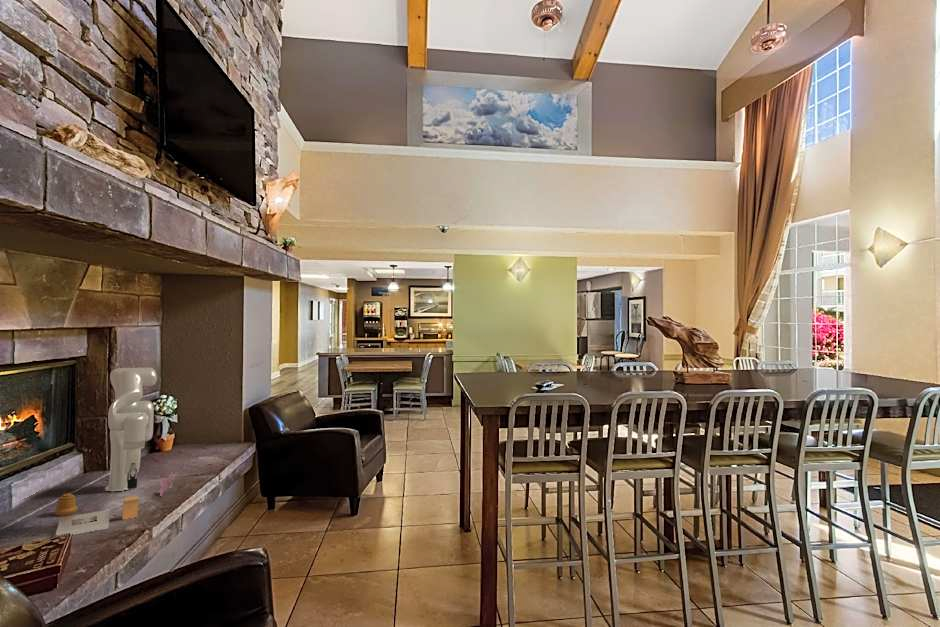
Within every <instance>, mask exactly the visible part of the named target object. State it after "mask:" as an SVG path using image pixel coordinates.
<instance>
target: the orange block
mask: <svg viewBox="0 0 940 627" xmlns="http://www.w3.org/2000/svg"><path fill="white" fill-rule="evenodd" d="M122 500H123V505H122V520H123V519H126V520H129V519H128V518H131V519H135V518H134V517H137V518H138V510H139V509H138V508H139V495H135V496H130V497H129V496H128V497H124V498H123V499H122Z"/></svg>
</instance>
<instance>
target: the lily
mask: <svg viewBox="0 0 940 627" xmlns="http://www.w3.org/2000/svg"><path fill="white" fill-rule="evenodd" d="M177 475H178V472H175V473H173V471H172V472H171V473H170V474H169V476H168V477H165V478H161V479H160V483H159V484H160V486H161V487H160V488H159V490H158V491H157V494H159V497H160V496H161V497H162V496H163V494H164V492H165V491H166V490H167V489H171V488H173V489H174V490H175V491H176V490H177V489H176V487H174V486H175V485H173V480H174V478H175V477H176V476H177Z"/></svg>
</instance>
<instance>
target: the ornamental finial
mask: <svg viewBox="0 0 940 627" xmlns="http://www.w3.org/2000/svg"><path fill="white" fill-rule="evenodd" d="M77 511H78V506H77V505H76V496H75V495H74V494H72V493H70V492H69V493H65V494H63V495H61V496H60V497H59V498H58V499H57V505H56V508H55V509H54V511H53V513H54V515H56V516H57V517H66V516H71V515H72V514H75V513H76V512H77Z"/></svg>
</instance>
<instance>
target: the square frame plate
mask: <svg viewBox="0 0 940 627" xmlns="http://www.w3.org/2000/svg"><path fill="white" fill-rule="evenodd" d="M110 511H111V510H110V509H105V510H104V509H103V510H99V511H94V512H87V513H81V514H75V515H68V516H62V517H60V519H59V521H58V526H57V528H56V532H55V536H56V535H61V534H65V533H72V534H73V535H72V536H74V535H79V534H85V532H86V533H90V531H92V532H96V531H95V530H97V531H102V530H107V529H109V528H110V527H109V526H110ZM95 520H97V521H95ZM89 521H92V522H89ZM85 522H86V523H85ZM80 523H81V524H80Z"/></svg>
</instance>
